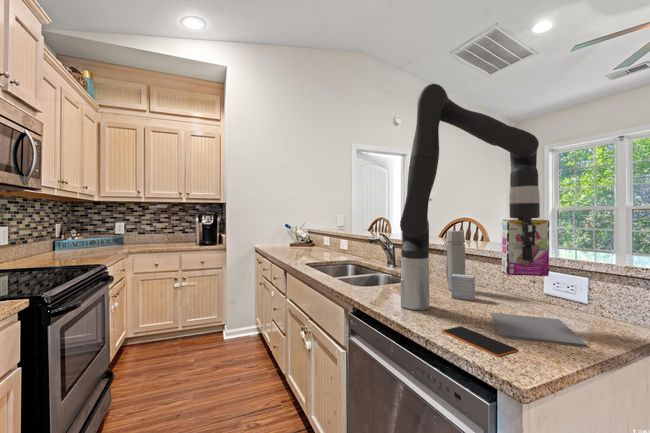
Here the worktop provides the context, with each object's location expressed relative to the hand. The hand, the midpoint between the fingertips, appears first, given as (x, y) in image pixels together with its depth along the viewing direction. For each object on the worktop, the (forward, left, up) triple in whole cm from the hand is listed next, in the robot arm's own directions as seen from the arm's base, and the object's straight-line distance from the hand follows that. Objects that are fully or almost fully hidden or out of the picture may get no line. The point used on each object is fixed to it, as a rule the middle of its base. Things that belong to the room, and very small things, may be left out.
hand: (524, 258), depth 90 cm
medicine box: (-16, +21, -19) cm, 32 cm away
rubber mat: (0, -7, -18) cm, 20 cm away
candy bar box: (0, 0, -5) cm, 5 cm away
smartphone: (-15, -21, -19) cm, 32 cm away
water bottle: (-19, +34, -19) cm, 43 cm away
